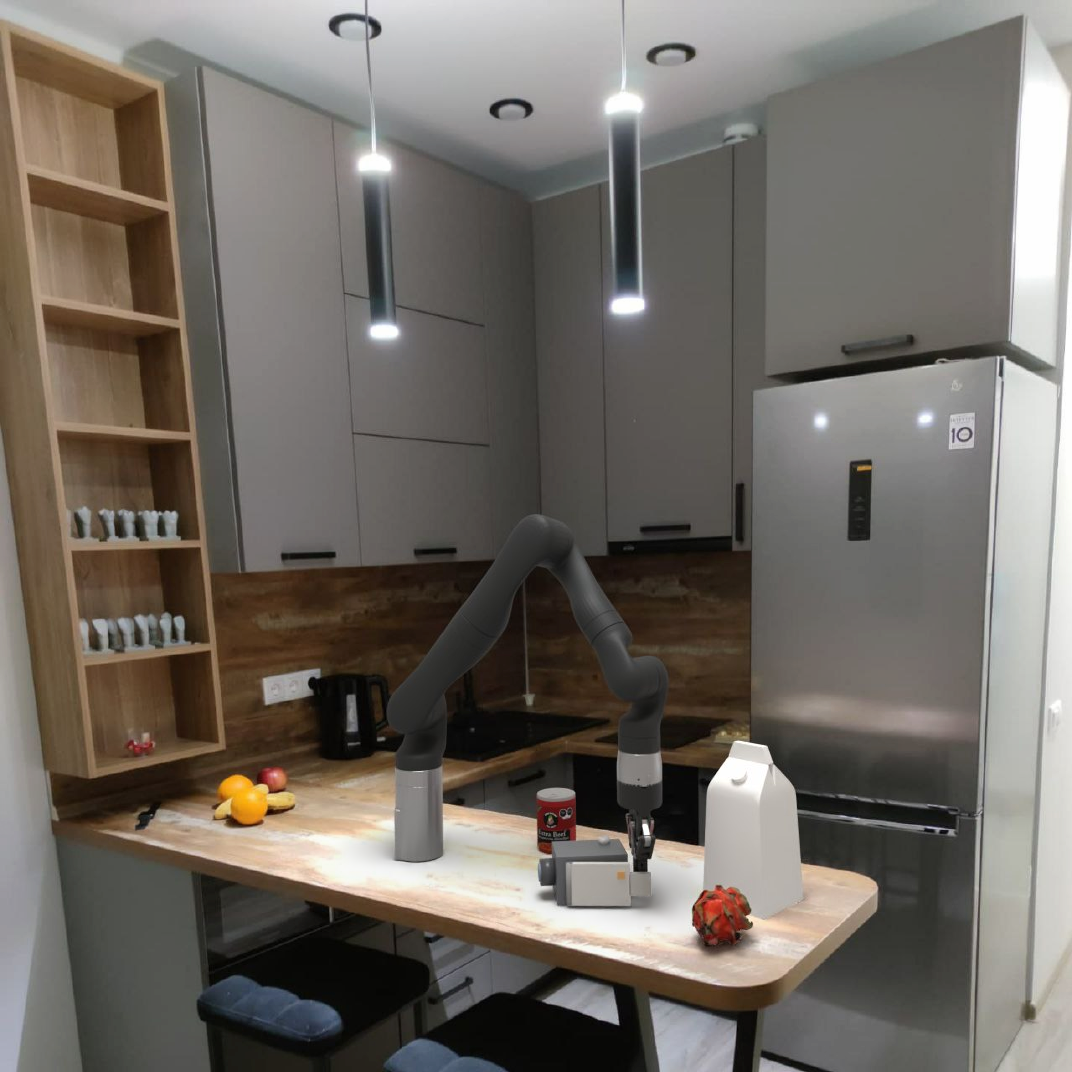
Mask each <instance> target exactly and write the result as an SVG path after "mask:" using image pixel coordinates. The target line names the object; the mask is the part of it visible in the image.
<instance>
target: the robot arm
mask: <svg viewBox="0 0 1072 1072" xmlns="http://www.w3.org/2000/svg"><path fill="white" fill-rule="evenodd" d="M582 552H583V551H582V550H581V548H580V546H579V544H578V542H577V539H576V537H575V535H574V534H573V531H572V530H571V528H570V527H569V526H568V525H566V524H565V522H562V521H561V520H558V519H556V518H555V519H554V518H551V517H549V516H546V515H544V514H538V513H534V514H530V515H527V516H525V517H524V518H522V519H521V520H519V522H518V523H517V524H516V525H515V527H514V529H513V530H512V531H511V533H510V534H509V536H508V538H507V540H505V543H504V544H503V546H502V548H501V550H500V552H499V553H498V554H497V556H496V557H495V560H494V561H493V563H492V564H491V566H490V567H489V569H488V570H487V572H486V573H485V574H484V576H483V578H481V580H480V582H479V583H478V584H477V586H476V587H475V588H474V590H473V591H472V593H471V594H470V595H469V597H468V598H467V599H466V600H465V602H464V603H463V604H462V605H461V607H460V608H458V611H457V612H456V613H455V615H454V616H453V617H452V619H451V620H450V622H449V623H448V625H447V626H446V627H445V629H444V630H443V632H442V633H441V634H440V636H439V637H438V639H437V640H436V641H435V643H434V644H433V645H432V647H431V648H430V650H429V651H428V653H427V654H426V656H425V657H424V659H422V661H421V662H420V663H419V665H418V666H417V667H416V668H415V669H414V670H413V672H411V673H410V675H409V676H408V677H407V678H406V679H405V680H404V681H403V682H402V683H401V684H400V685H399V686H398V688H397V689H395V691H394V692H393V693H392V694H391V696H390V698H389V699H388V702H387V707H386V719H387V722H388V725H389V727H390V728H391V729H393V731H395V732H396V733H399V734H402V735H404V737H403V741H402V742H401V745H400V746H399V747H398V749H397V750H396V752H395V754H394V792H395V795H394V796H395V797H394V798H395V799H394V800H395V802H394V803H395V805H394V806H395V807H394V811H393V814H394V819H393V820H394V860H400V861H405V862H415V863H416V862H427V861H431V860H435V859H439V858H440V857H441V856H442V855H443V854H444V808H443V807H444V798H443V797H444V796H443V793H444V792H443V787H444V786H443V756H444V753H445V750H446V745H447V733H448V732H447V731H448V730H447V725H448V709H447V702H446V701H447V700H446V697H445V693H446V691H447V690H448V689H449V688H450V687H451V686H452V685H453V684H454V683H455V682H456V681H457V680H458V679H460V678H461V677H462V676H463V675H465V674H466V673H467V672H468V671H470V670H471V668H473V667H474V666H475V665H476V664H478V663H479V661H481V660H482V659H483V658H484V656H486V655H487V654H488V652H489V651H490V650H491V649H492V647H493V646H494V645H495V644H496V643H497V641H498V640H499V638H501V636H502V634H503V633H504V632H505V630H506V629H507V625H508V623H509V620H510V617H511V614H512V608H513V602H514V598H515V596H516V594H517V591H518V589H519V588H520V587H521V585H522V583H523V582H524V581H525V580H526V578H528V576H529V574H530V573H531V572H532V571H533V570H534V569H535V568H536V567H541V568H544V569H547V570H548V571H549V572H550V573H551V574H552V576H554V577H555V578H556V579H557V581H559V582H560V584H561V585H562V587H563V589H564V590H565V592H566V595H567V597H568V600H569V603H570V606H571V610H572V613H573V614H572V615H573V617H574V619H575V621H576V624H577V626H578V627H579V629H580V630H581V632H582V634H583V636H584V637H585V639H586V640H587V642H588V644H590V646H591V647H592V649H593V650H594V651H595V653H596V657H597V659H598V663H599V666H600V668H601V672H602V674H603V678H604V680H605V683H606V685H607V687H608V689H609V691H610V692H611V693H612V694H613V695H614V696H615V697H616V698H617V699H619V700H621V701H623V702H625V703H631V706H630V709H628V711H627V712H625V713H624V714H623V715H621V717H620V718H619V720H618V724H617V738H618V739H617V748H618V751H617V757H616V758H617V759H616V760H617V761H616V791H617V792H616V796H617V797H616V798H617V799H616V802H617V804H618V805H619V806H620V807H621V808H623V809H625V810H628V811H629V812H628V813H625V821H626V829H627V836H628V837H627V838H628V846H629V849H630V854H631V856H632V872H649V868H648V865H649V864H648V862H649V861H648V860H652V857H653V853H654V849H655V844H656V841H657V839H656V836H655V834H653V831H654V827H655V825H654V824H655V821H654V817H652V816H651V812H652V811H653V810H657V809H658V808H660V807H661V806H662V804H663V762H662V761H663V760H662V756H661V755H662V754H661V722H662V719H663V715H664V712H665V711H664V710H665V707H666V701H667V697H668V692H669V675H668V670H667V669H666V666H665V664H664V663H663V662H662V661H661V660H660V658H657V657H656V656H652V655H642V656H638V657H632V656H631V655H630V654H629V651H628V649H629V647H630V646H631V645H632V643H633V639H634V637H633V634H632V632H631V630H630V629H629V627H628V625H627V624H626V622H625V621H624V620H623V618H622V617H621V615H620V613H618V611H617V610H616V608H615V607H614V605H613V604H612V603H611V600H610V599H608V597H607V595H606V594H605V592H604V591H603V589H602V588H601V586H600V585H599V583H598V581H597V579H596V577H595V575H594V574H593V572H592V570H591V568H590V566H589V564H588V562H587V561H586V559H585V556H584V555H583V553H582Z"/></svg>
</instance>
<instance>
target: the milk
mask: <svg viewBox="0 0 1072 1072" xmlns="http://www.w3.org/2000/svg"><path fill="white" fill-rule="evenodd" d="M797 804H798V803H797V795H796V789H795V787H794V786H793V784H792V783H791V781H790V780H789V778H787V777H786V776H785V774H783V772H782V771H781V770H780V769H779V768H778V767H777V766H776V765H775V764H774V761H773V758H772V755H771V753H770V750H769V747H768V745H764V744H758V743H753V742H749V741H743V740H742V741H741V740H735V741H733V742H732V745H731V748H730V750H729V754H728V757H727V758H726V759H725V761H724V762H723V763H722V765H721V766H720V768H719V769H718V771H717V772H716V774H715V775H714V776H713V777H712V779H711V781H710V783H709V784H708V787H707V790H706V806H705V833H704V855H703V857H704V858H703V862H704V863H703V883H702V884H703V886H702V892H703V891H704V890H708V891H714V890H715V887H716V885H722V887H723V888H724V889H725V890H727V889H728V888H730V887H735V888H737V889H739V891H740V893H741V894H743V895H744V896H745V897H746V898H747V901H748V903H749V906H750V908H751V909H752V910H751V913H750V914H749V915H748V916H752V917H754V918H757V919H760V920H766V919H768V918H770V917H772V916H774V915H776V914H778V913H780V912H782V911H784V910H786V909H785V908H787V909H788V907H789V908H791V907H792V905H793V904H795V903H796V902H799V901H801V900H803V899H804V889H803V875H802V861H801V848H800V847H801V846H800V834H799V821H798V820H799V819H798V808H797ZM803 901H804V900H803ZM801 902H802V901H801ZM799 903H800V902H799ZM795 905H796V904H795ZM790 906H791V907H790ZM793 906H794V905H793ZM783 909H784V910H783ZM775 913H776V914H775Z"/></svg>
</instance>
